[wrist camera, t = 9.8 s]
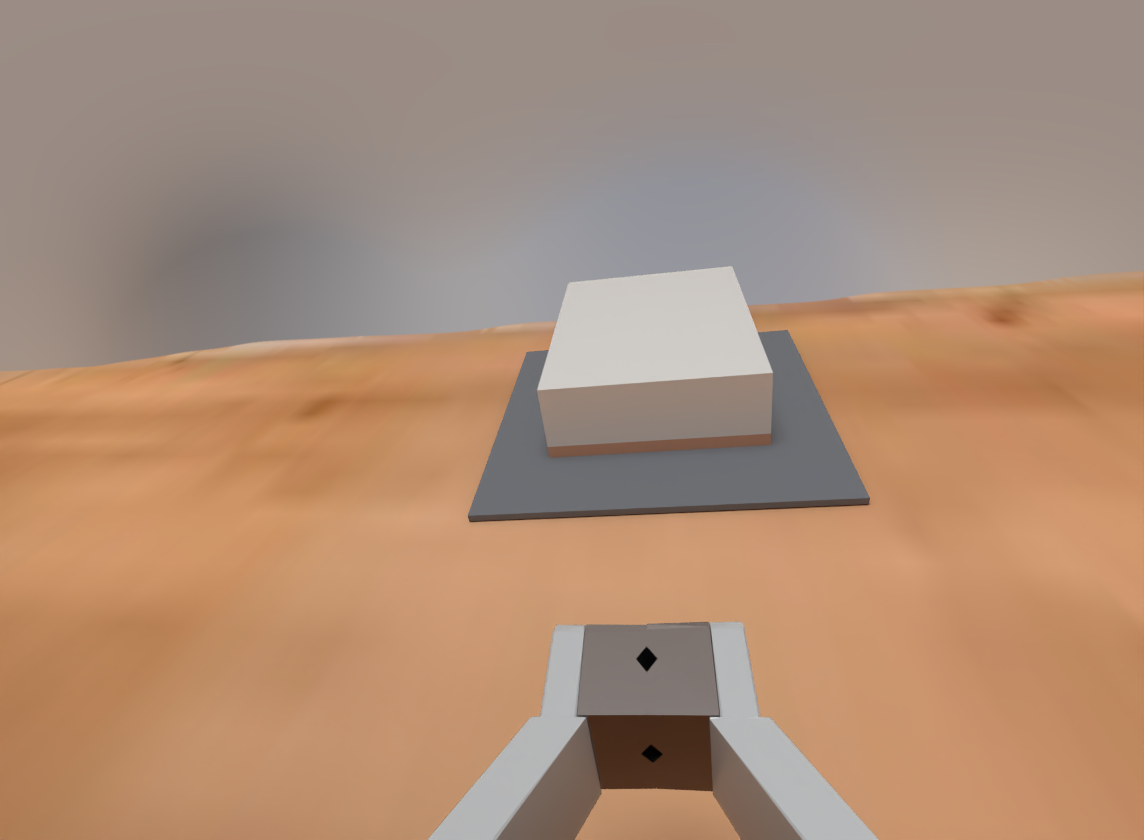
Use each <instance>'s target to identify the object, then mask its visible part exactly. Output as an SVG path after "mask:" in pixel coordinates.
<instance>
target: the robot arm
mask: <svg viewBox="0 0 1144 840" xmlns="http://www.w3.org/2000/svg"><path fill="white" fill-rule="evenodd" d="M656 788H657V789H675V790H695V791H713V795H714V797H715V798H716V800H717V802H718V803H719V805H720V806H721V808H722V809H723V811H724V813H725V814H726V816H727V817H728V819H729V821H730V822H731V824H732V825H733V827H734V829H735V830H736V832H737V833H738V835H739V837H740V838H741V840H878V839H877V837H876V836H875V835H874V834H873V833H872V832H871V831H870V830H869V828H868V827H867V826H866V825H865V824H864V823H863V822H862V820H861V819H860V818H859V817H858V816H857V815H856V814H855V813H854V811H853V810H852V809H851V808H850V807H849V806H848V805H847V803H846V802H845V801H844V800H843V799H842V798H841V797H840V796H839V794H838V793H837V792H836V791H835V790H834V789H833V788H832V786H831V785H830V784H829V783H828V782H827V781H826V780H825V779H824V777H823V776H822V775H821V774H820V773H819V772H818V771H817V769H816V768H815V767H814V766H813V765H812V764H811V763H810V762H809V760H808V759H807V758H806V757H805V756H804V755H803V754H802V752H801V751H800V750H799V749H798V748H797V747H796V746H795V745H794V743H793V742H792V741H791V740H790V739H789V738H788V737H787V735H786V734H785V733H784V732H783V731H782V730H781V729H780V728H779V726H778V725H777V724H776V723H775V722H774V721H773V720H772V718H770V717H760V712H759V706H758V701H757V695H756V689H755V684H754V678H753V672H752V667H751V661H750V655H749V650H748V644H747V638H746V633H745V627H744V626H743V624H742V622H710V624H709V623H708V622H692V623H661V624H647V625H556V627H555V629H554V631H553V634H552V640H551V646H550V653H549V660H548V666H547V673H546V679H545V686H544V693H543V699H542V706H541V713H540V717H530V718H529V719H528V721H527V722H526V723H525V724H524V725H523V727H522V728H521V729H520V730H519V731H518V733H517V734H516V735H515V736H514V737H513V739H512V740H511V741H510V742H509V743H508V744H507V746H506V747H505V748H504V749H503V750H502V752H501V753H500V754H499V755H498V756H497V758H496V759H495V760H494V761H493V762H492V764H491V765H490V766H489V767H488V768H487V770H486V771H485V772H484V773H483V774H482V775H481V777H480V778H479V779H478V780H477V781H476V783H475V784H474V785H473V786H472V787H471V789H470V790H469V791H468V792H467V793H466V795H465V796H464V797H463V798H462V799H461V800H460V802H459V803H458V804H457V805H456V806H455V808H454V809H453V810H452V811H451V812H450V814H449V815H448V816H447V817H446V818H445V820H444V821H443V822H442V823H441V824H440V825H439V827H438V828H437V829H436V830H435V831H434V833H433V834H432V835H431V836H430V837H429V839H428V840H575V838H576V836H577V834H578V833H579V831H580V829H581V828H582V826H583V824H584V822H585V821H586V819H587V817H588V816H589V814H590V812H591V810H592V809H593V807H594V805H595V804H596V802H597V800H598V798H599V797H600V795H601V793H602V792H601V789H656Z"/></svg>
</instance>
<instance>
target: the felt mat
mask: <svg viewBox="0 0 1144 840" xmlns="http://www.w3.org/2000/svg"><path fill="white" fill-rule="evenodd" d="M758 335H759V338H760V340H761V343H762V345H763V348H764V351H765V353H766V356H767V358H768V361H769V364H770V366H771V369H772V371H773V389H772V420H771V445H760V446H743V447H725V448H708V449H691V450H673V451H656V452H639V453H621V454H604V455H587V456H570V457H552V458H550V457H549V452H548V447H547V441H546V436H545V431H544V425H543V420H542V415H541V409H540V404H539V398H538V393H537V389H538V385H539V382H540V378H541V375H542V372H543V368H544V365H545V361H546V358H547V355H548V351H549V350H545V351H534V352H527V353H526V356H525V359H524V362H523V364H522V367H521V370H520V373H519V376H518V378H517V381H516V384H515V387H514V389H513V392H512V395H511V398H510V400H509V403H508V406H507V409H506V412H505V414H504V417H503V420H502V423H501V425H500V428H499V431H498V434H497V436H496V439H495V442H494V445H493V448H492V450H491V453H490V456H489V459H488V461H487V464H486V467H485V470H484V472H483V475H482V478H481V481H480V484H479V486H478V489H477V492H476V495H475V497H474V500H473V503H472V506H471V509H470V511H469V514H468V518H469V521H487V520H510V519H534V518H557V517H580V516H603V515H627V514H650V513H673V512H696V511H720V510H743V509H766V508H789V507H813V506H836V505H859V504H869V500H870V497H869V495H868V493H867V491H866V489H865V487H864V485H863V483H862V481H861V479H860V477H859V475H858V473H857V471H856V469H855V467H854V465H853V463H852V461H851V459H850V457H849V454H848V452H847V450H846V448H845V446H844V444H843V442H842V440H841V438H840V436H839V434H838V432H837V430H836V428H835V426H834V424H833V422H832V420H831V418H830V416H829V414H828V412H827V410H826V408H825V405H824V403H823V401H822V399H821V397H820V395H819V393H818V391H817V389H816V387H815V385H814V383H813V381H812V379H811V377H810V375H809V373H808V371H807V369H806V367H805V365H804V363H803V361H802V359H801V356H800V354H799V352H798V350H797V348H796V346H795V344H794V342H793V340H792V338H791V336H790V334H789V332H788V330H783V331H771V332H759V333H758Z"/></svg>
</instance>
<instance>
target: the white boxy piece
mask: <svg viewBox="0 0 1144 840" xmlns="http://www.w3.org/2000/svg"><path fill="white" fill-rule="evenodd" d="M772 389H773V371H772V369H771V366H770V364H769V361H768V358H767V356H766V353H765V351H764V348H763V345H762V343H761V340H760V338H759V335H758V333H757V330H756V327H755V325H754V322H753V320H752V317H751V314H750V312H749V309H748V307H747V304H746V301H745V299H744V296H743V294H742V291H741V289H740V286H739V283H738V281H737V278H736V275H735V273H734V270H733V268H732V266H730V267H720V268H710V269H700V270H690V271H681V272H670V273H660V274H650V275H640V276H631V277H620V278H610V279H600V280H591V281H581V282H571V283H568V287H567V290H566V293H565V297H564V300H563V304H562V307H561V311H560V314H559V317H558V321H557V324H556V327H555V331H554V334H553V338H552V341H551V344H550V348H549V351H548V355H547V358H546V361H545V365H544V368H543V372H542V375H541V378H540V382H539V385H538V389H537V393H538V398H539V404H540V409H541V415H542V420H543V425H544V431H545V436H546V441H547V447H548V452H549V457H550V458H552V457H570V456H587V455H604V454H621V453H639V452H656V451H673V450H691V449H708V448H725V447H743V446H760V445H771V420H772Z"/></svg>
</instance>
